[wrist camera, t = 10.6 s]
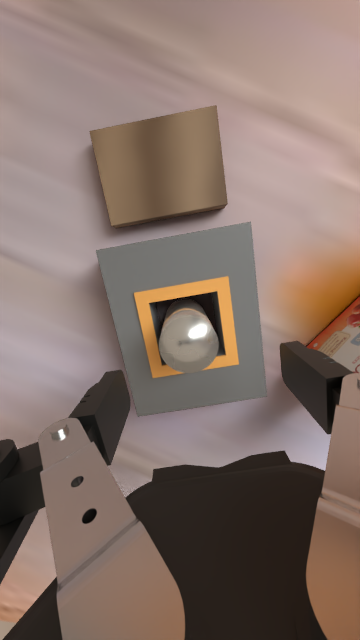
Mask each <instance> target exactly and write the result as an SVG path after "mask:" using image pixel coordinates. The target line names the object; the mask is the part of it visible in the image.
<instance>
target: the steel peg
mask: <svg viewBox="0 0 360 640" xmlns="http://www.w3.org/2000/svg"><path fill="white" fill-rule="evenodd" d="M218 346H219V343H218V337H217V334H216V332H215V330H214V329H213V327H212V325H211V323H210V321H209V319H208V317H207V315H206V313H205V311H204V309H203V308H202V306H201V305H200V304H199V303H198V302H196V301H194V300H192V299H179V300H177V301H175V302H174V303H172V304H171V305H170V307H169V308H168V310H167V313H166V317H165V321H164V324H163V328H162V332H161V336H160V340H159V351H160V354H161V357H162V359H163V360H164V362H165V363H166V364H167V365H168V366H169V367H171V368H172V369H174V370H176V371H178V372H182V373H195V372H199V371H201V370H203V369H205V368H206V367H208V366H209V365H210V364H211V363H212V362H213V360H214V359H215V357H216V355H217V352H218Z"/></svg>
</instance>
